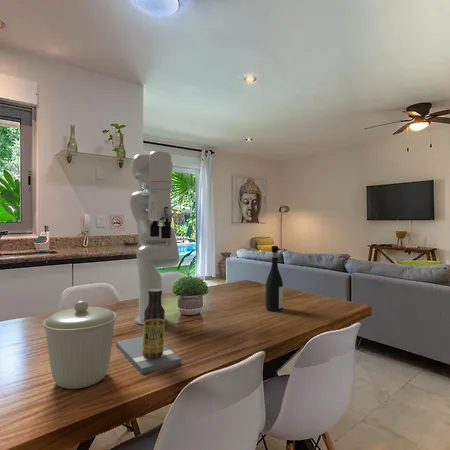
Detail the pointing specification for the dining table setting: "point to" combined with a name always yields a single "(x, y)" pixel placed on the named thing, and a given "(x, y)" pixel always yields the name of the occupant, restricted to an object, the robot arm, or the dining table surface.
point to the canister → (79, 344)
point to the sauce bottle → (153, 326)
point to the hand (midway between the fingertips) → (160, 237)
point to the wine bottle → (274, 285)
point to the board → (135, 355)
